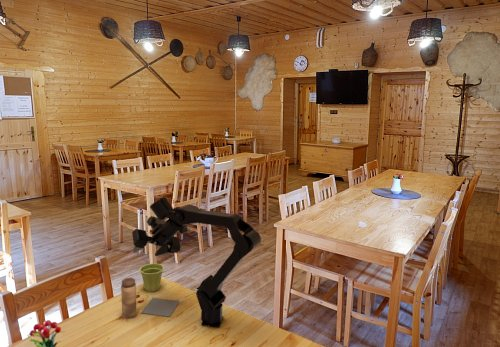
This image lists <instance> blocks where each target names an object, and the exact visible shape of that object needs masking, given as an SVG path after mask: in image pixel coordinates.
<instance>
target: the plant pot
mask: <svg viewBox="0 0 500 347" xmlns="http://www.w3.org/2000/svg"><path fill="white" fill-rule="evenodd" d="M164 268H165V267H164V265H163V264H160V263H148V264H147V263H146V264H145V265H142V266H141V267H140V268H139V272H140V275H141V276H142V283H143V287H144V290H145V291H146V292H154V291H159V290H160V289H161V282H162V274H163V272H164Z"/></svg>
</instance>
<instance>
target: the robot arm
mask: <svg viewBox="0 0 500 347" xmlns="http://www.w3.org/2000/svg"><path fill="white" fill-rule="evenodd" d="M149 209H151V211H152V212H153V214H154V215H155V216H152V215H151V216H149V217H148V218H147V220H146V223H147V225H148V226H149V227H151V230H150V233H151V236H148V234H147V231H146V230H144V229H140V228H135V229H134V230H133V231H132V232H131V233H132V234H131V235H132V240H133V245H134V247H133V250H132V253H134V254H135V253H138V252H139V251H141V250H143V249H145V248H144V247H146V246H147V244H150V245H154V246H159V248H158V249H157V250H155V253H154V255H155V256H154V257H158V256H159V257H160V256H165V255H170V254H171V255H172V254H178V253H179V252H180V251H181V248H182V246H181V242H180V241H181V240H180V237H179V236H176V235H177V234H178V233H180V235H183V234H185V233H187V232H189V230H188V225H192V224H193V225H194V224H203V225H209V226H218V227H224V228H227V230H228V232H229V234H230V237H231V239H232V241H233V242H234V245H233V247H232V248H233V249H232V252H231V253H230V255H229V256H228V257H227V258H226V260H225V261H224V262H223V264H222V265H221V266H219V268H218V270H217V271H216V272H215V274H214V275H212V274H210V275H209V276H207V277H206V278H205V279H203V280H201V283H200V285H199V286H198V287H196V292H195V295H196V298H197V301H198V305H199V308H200V310H201V311H200V313H201V314H200V315H201V316H200V319H201V324H200V325H201V326H204V327H213V328H220V327H221V325H222V322H223V321H224V320H223V319H224V316H223V303H224V302H225V301H226V298H227V296H226V294H225V293H224V292H223V291H222V288H223V287H224V286H223V284H224V282H225V281H226V280H227V279H228V277H230V275H231V274H232V273H233V271H234V270H235V268H237V266H238V265H239V264H240V263H241V261H242V260H243V259H244V258H245V257H246V256H247V255H249V253H251V252H252V251H253V250H254V249H256V248H257V247H258V246H259V245H260V244H261V242H262V238H261V235H260V234H259V233H260V232H258V231H256V230H255V229H254V228H253V226H252V225H250V224H249V223H248V222H246V221H245V220H244V219H243V218H242V217H241V216H240V215H239V214H238V213H227V212H218V211H213V210H204V209H201V208H199V207H198V206H196V205H192V204H184V205H183V206H177V207H173V206H172V205H171V204H170V202H169V200H168V198H167V197H166V196H162V197H161V198H159V199H158V200H156V201H155V202H152V203H151V205H150V206H149ZM241 232H242V233H241Z"/></svg>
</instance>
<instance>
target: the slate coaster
mask: <svg viewBox="0 0 500 347" xmlns="http://www.w3.org/2000/svg"><path fill="white" fill-rule="evenodd" d="M180 302H181V300H177V299H167V298H160V297H152V299H150V301H149V302H148V303H147V304H146V305H145V307H143V309H142V311H140V315H141V314H142V315H148V316H149V315H151V316H156V317H158V316H159V317H164V318H165V317H166V318H171V316H172V315H173V313H174V311H175V310H176V308H177V307H178V306H179V304H180Z"/></svg>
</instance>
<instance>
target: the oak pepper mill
mask: <svg viewBox="0 0 500 347" xmlns="http://www.w3.org/2000/svg"><path fill="white" fill-rule="evenodd" d="M120 295H121V298H120V300H121V317H122V318H123V319H132V318H135V317H136V316H137V313H138V312H137V282H136V279H135V278H133V277H128V278H127V277H126V278H123V279H122V280H121V284H120Z"/></svg>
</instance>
